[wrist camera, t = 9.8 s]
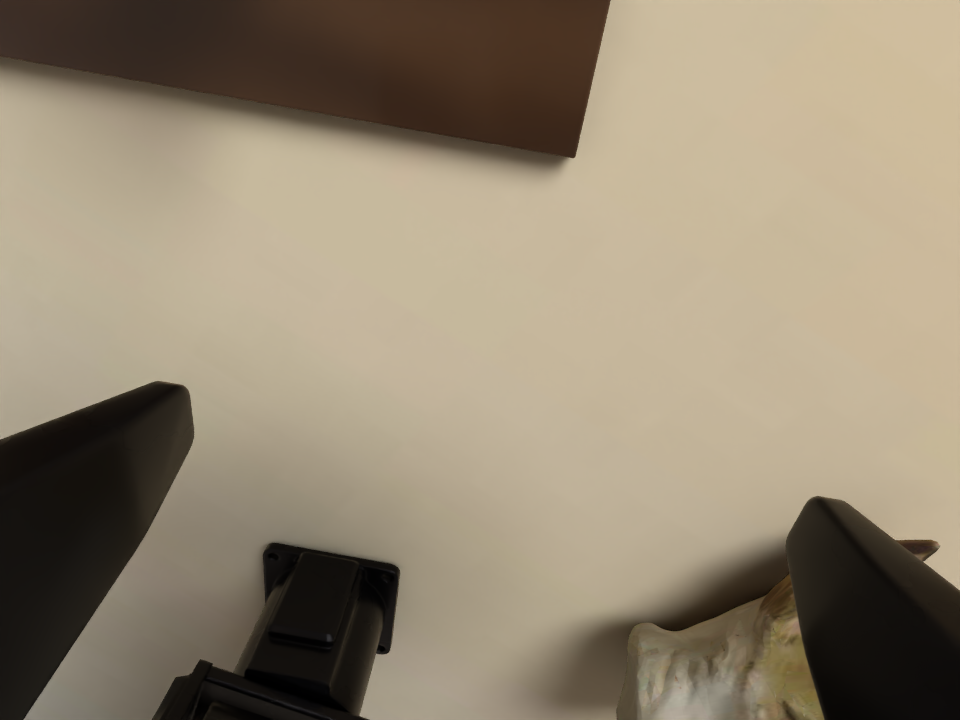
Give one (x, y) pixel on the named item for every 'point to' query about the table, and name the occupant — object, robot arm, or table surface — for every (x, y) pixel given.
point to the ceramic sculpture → (728, 663)
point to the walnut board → (344, 57)
